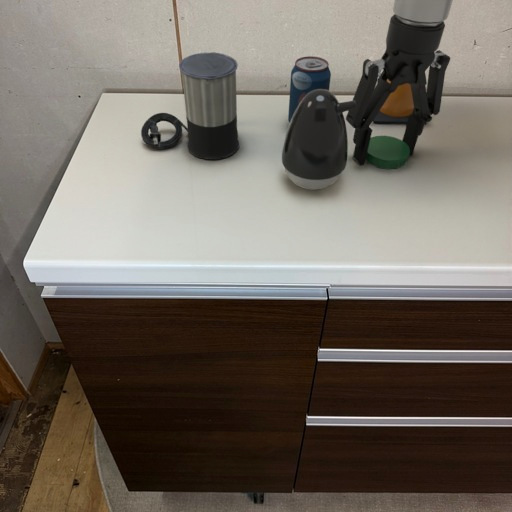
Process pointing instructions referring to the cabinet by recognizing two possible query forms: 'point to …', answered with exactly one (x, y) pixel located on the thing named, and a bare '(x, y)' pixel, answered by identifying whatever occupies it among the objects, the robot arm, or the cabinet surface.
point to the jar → (399, 102)
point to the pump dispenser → (317, 140)
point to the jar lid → (387, 152)
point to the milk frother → (203, 108)
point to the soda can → (307, 79)
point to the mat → (391, 119)
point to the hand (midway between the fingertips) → (382, 156)
